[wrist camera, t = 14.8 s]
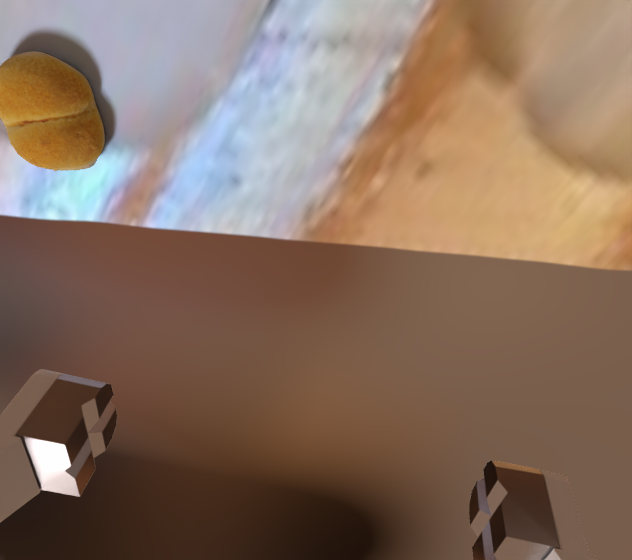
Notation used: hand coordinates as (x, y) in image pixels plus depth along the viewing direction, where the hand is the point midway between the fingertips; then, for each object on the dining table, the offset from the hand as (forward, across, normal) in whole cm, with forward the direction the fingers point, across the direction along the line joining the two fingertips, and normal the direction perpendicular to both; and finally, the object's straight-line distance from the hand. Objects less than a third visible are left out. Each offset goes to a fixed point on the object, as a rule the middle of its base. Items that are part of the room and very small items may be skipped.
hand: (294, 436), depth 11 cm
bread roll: (+32, +24, +8) cm, 40 cm away
